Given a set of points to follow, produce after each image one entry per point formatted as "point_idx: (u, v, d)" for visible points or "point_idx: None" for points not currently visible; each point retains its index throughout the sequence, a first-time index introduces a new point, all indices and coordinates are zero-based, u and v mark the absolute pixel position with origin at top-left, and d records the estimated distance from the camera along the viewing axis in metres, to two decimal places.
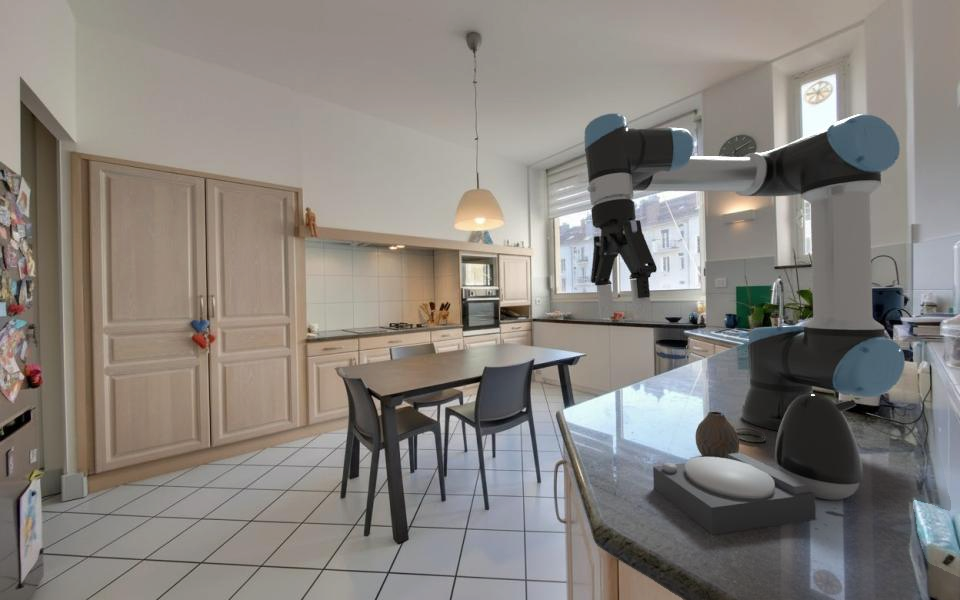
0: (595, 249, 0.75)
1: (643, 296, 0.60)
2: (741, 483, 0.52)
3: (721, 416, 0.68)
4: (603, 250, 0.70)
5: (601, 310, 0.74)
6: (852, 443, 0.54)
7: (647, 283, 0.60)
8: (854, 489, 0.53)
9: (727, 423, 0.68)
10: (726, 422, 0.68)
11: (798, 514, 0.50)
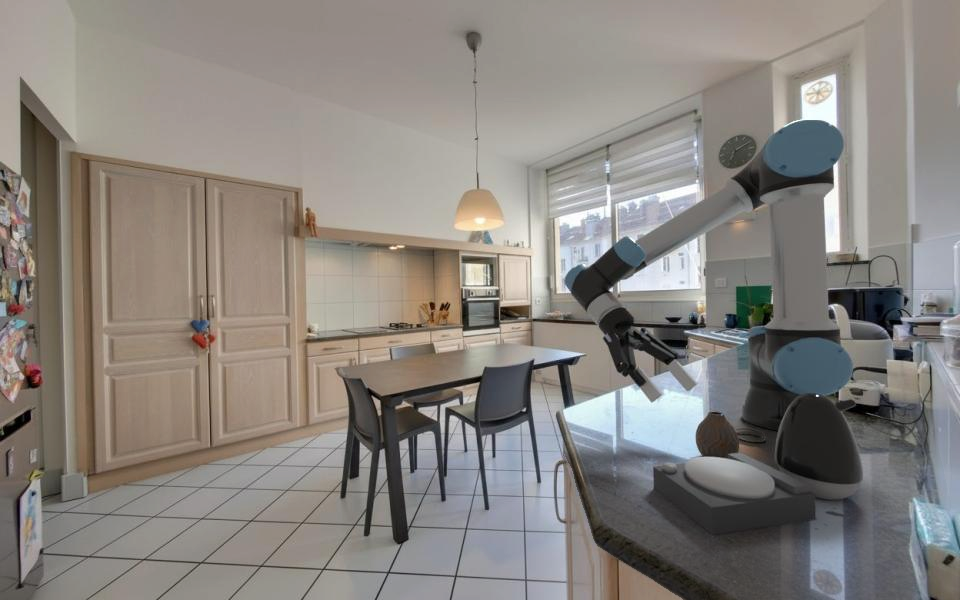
0: None
1: (639, 384, 0.73)
2: (741, 483, 0.52)
3: (721, 416, 0.68)
4: None
5: (682, 385, 0.80)
6: (852, 443, 0.54)
7: (634, 374, 0.73)
8: (854, 489, 0.53)
9: (727, 423, 0.68)
10: (726, 422, 0.68)
11: (798, 514, 0.50)
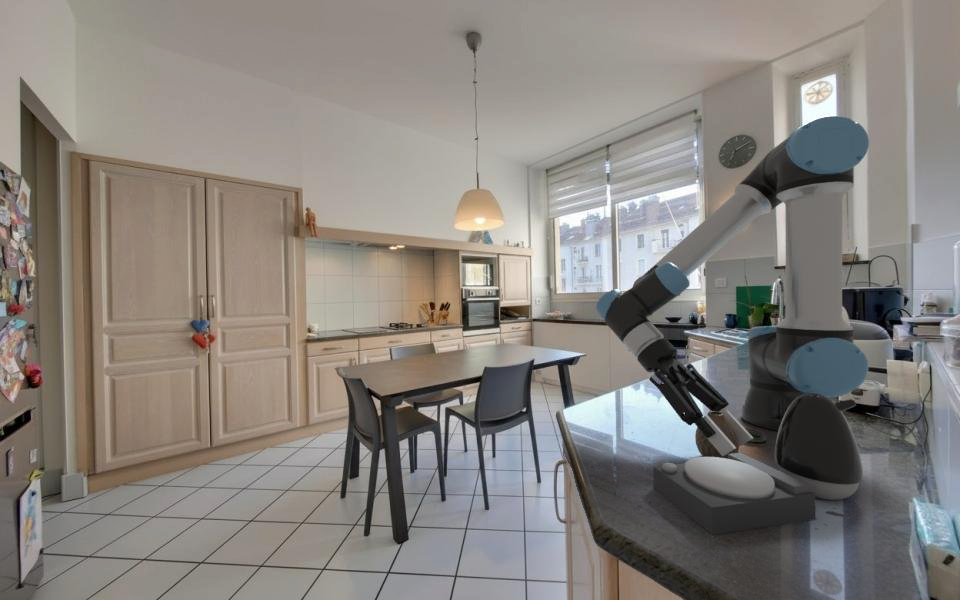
0: None
1: (708, 436, 0.66)
2: (741, 483, 0.52)
3: (721, 416, 0.68)
4: None
5: None
6: (852, 443, 0.54)
7: (702, 423, 0.66)
8: (854, 489, 0.53)
9: (727, 423, 0.68)
10: (726, 422, 0.68)
11: (798, 514, 0.50)
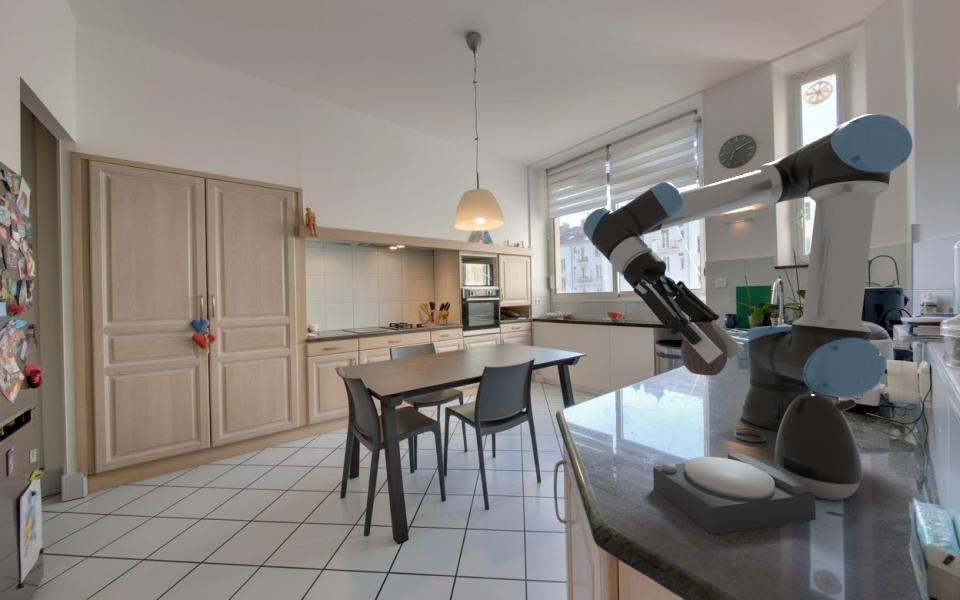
0: None
1: (693, 342, 0.61)
2: (741, 483, 0.52)
3: (709, 324, 0.63)
4: None
5: None
6: (852, 443, 0.54)
7: (687, 330, 0.61)
8: (854, 489, 0.53)
9: (715, 332, 0.62)
10: (714, 331, 0.62)
11: (798, 514, 0.50)
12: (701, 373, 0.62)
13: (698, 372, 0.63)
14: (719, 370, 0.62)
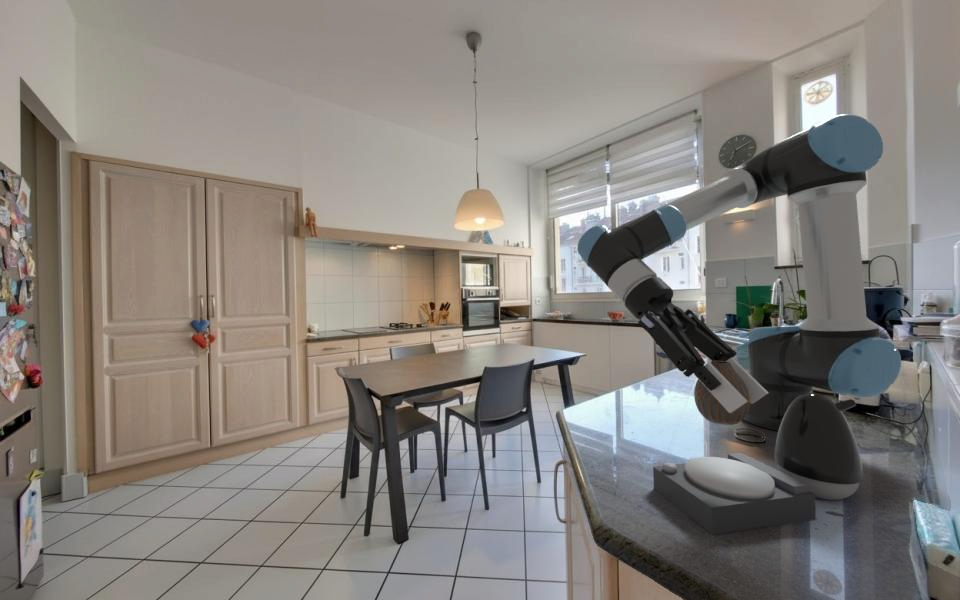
0: None
1: (711, 388, 0.51)
2: (741, 483, 0.52)
3: (727, 365, 0.54)
4: None
5: None
6: (852, 443, 0.54)
7: (704, 372, 0.52)
8: (854, 489, 0.53)
9: (735, 373, 0.53)
10: (733, 372, 0.53)
11: (798, 514, 0.50)
12: (720, 422, 0.53)
13: (716, 421, 0.53)
14: (741, 419, 0.53)
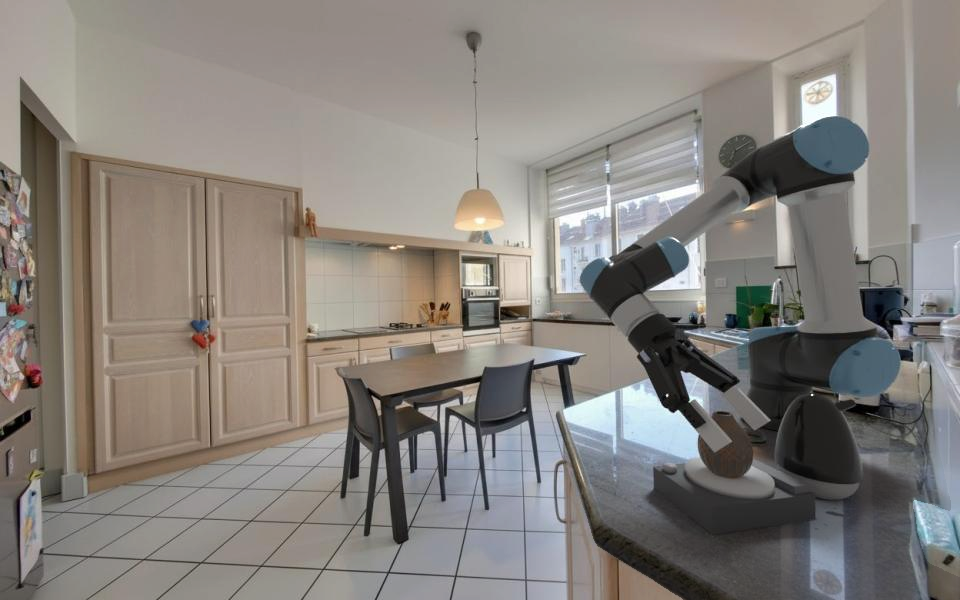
0: None
1: (696, 426, 0.51)
2: (741, 483, 0.52)
3: (729, 417, 0.54)
4: None
5: (747, 421, 0.58)
6: (852, 443, 0.54)
7: (688, 410, 0.51)
8: (854, 489, 0.53)
9: (737, 426, 0.53)
10: (736, 424, 0.53)
11: (798, 514, 0.50)
12: (725, 475, 0.53)
13: (721, 474, 0.53)
14: (745, 472, 0.52)
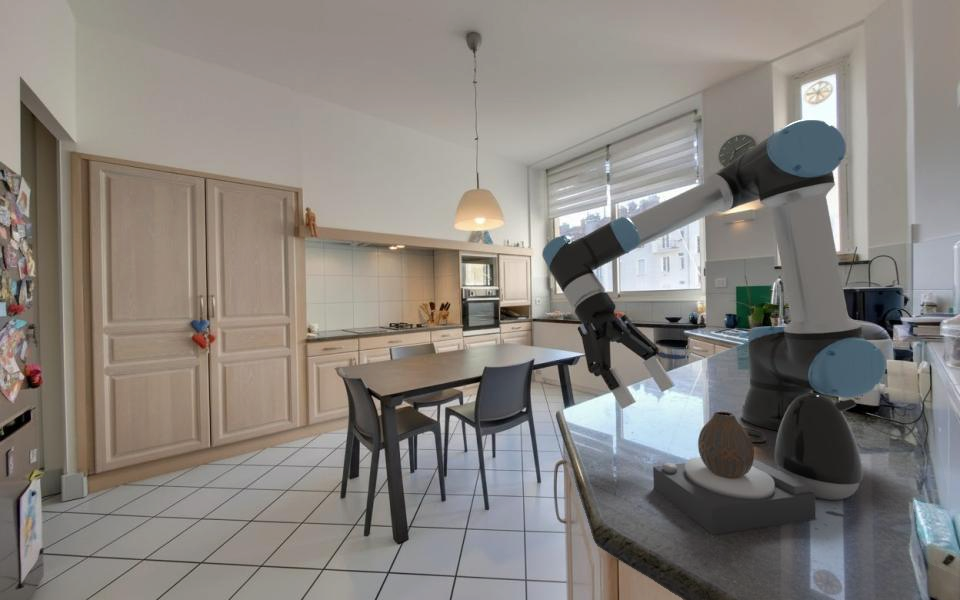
0: None
1: (611, 388, 0.64)
2: (741, 483, 0.52)
3: (731, 417, 0.54)
4: None
5: (658, 384, 0.72)
6: (852, 443, 0.54)
7: (607, 376, 0.64)
8: (854, 489, 0.53)
9: (739, 426, 0.53)
10: (737, 425, 0.53)
11: (798, 514, 0.50)
12: (725, 476, 0.53)
13: (721, 474, 0.53)
14: (746, 473, 0.52)
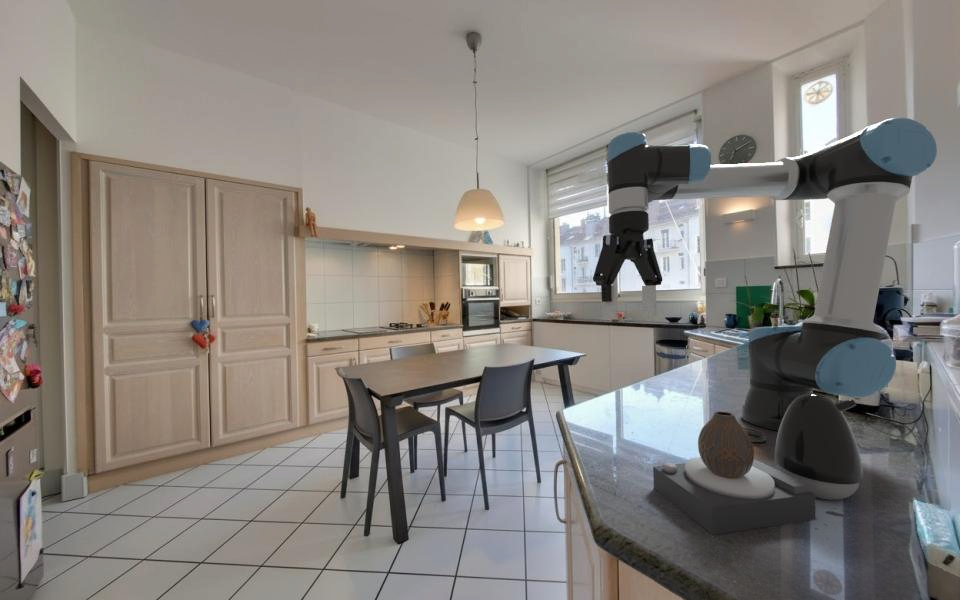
0: None
1: (603, 300, 0.71)
2: (741, 483, 0.52)
3: (731, 417, 0.54)
4: None
5: (643, 309, 0.80)
6: (852, 443, 0.54)
7: (606, 290, 0.70)
8: (854, 489, 0.53)
9: (739, 426, 0.53)
10: (737, 425, 0.53)
11: (798, 514, 0.50)
12: (725, 476, 0.53)
13: (721, 474, 0.53)
14: (746, 473, 0.52)
